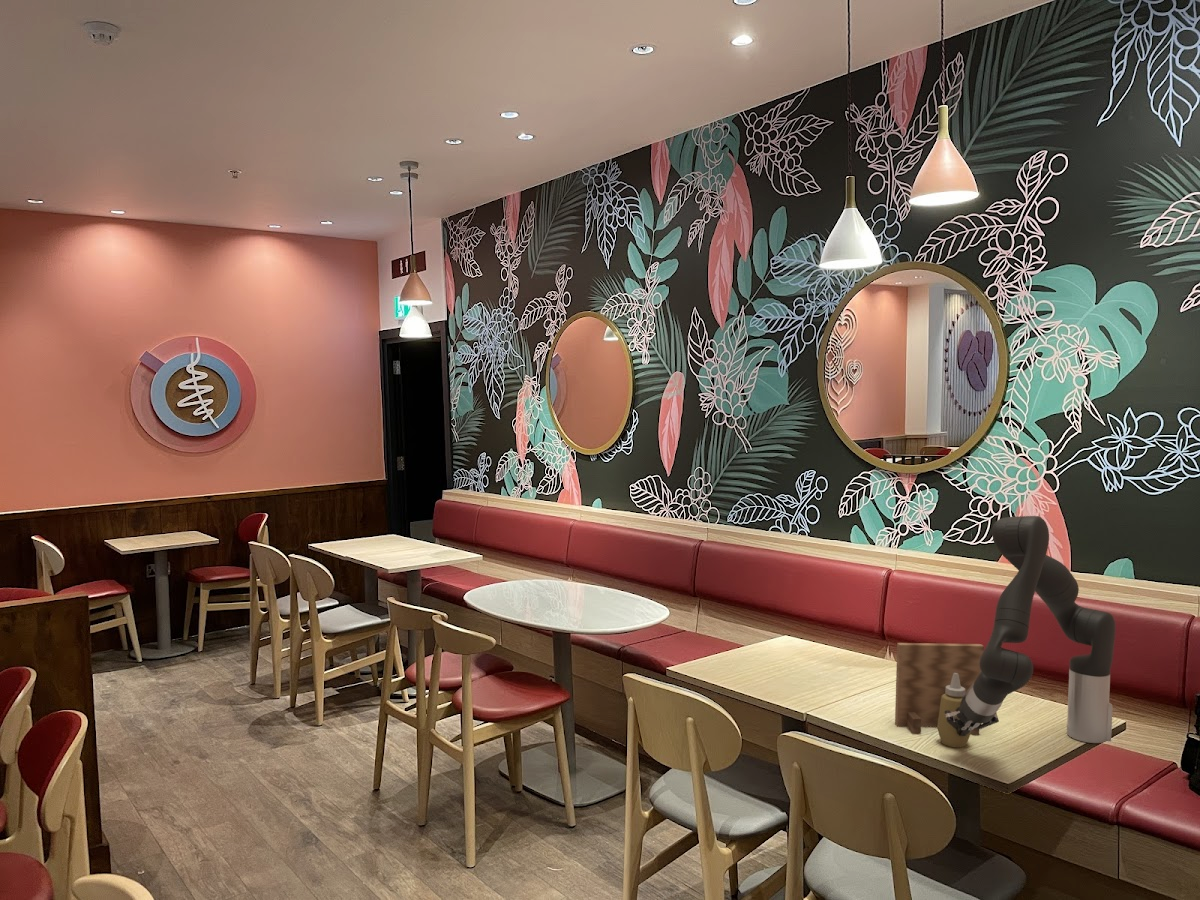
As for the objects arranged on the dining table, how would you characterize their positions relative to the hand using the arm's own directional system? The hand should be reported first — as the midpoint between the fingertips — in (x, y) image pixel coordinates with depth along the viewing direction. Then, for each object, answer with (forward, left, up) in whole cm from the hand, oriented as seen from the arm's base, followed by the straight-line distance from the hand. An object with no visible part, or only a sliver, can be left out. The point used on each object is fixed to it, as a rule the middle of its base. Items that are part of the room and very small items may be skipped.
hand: (960, 732), depth 220 cm
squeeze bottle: (0, -4, -5) cm, 6 cm away
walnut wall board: (0, -13, -4) cm, 14 cm away
